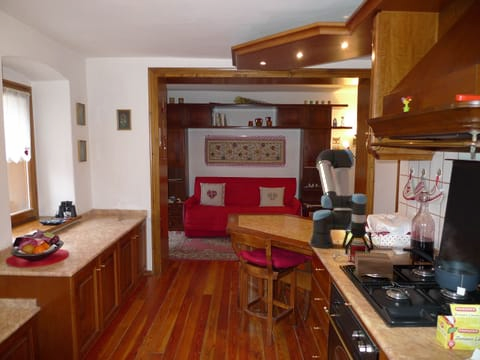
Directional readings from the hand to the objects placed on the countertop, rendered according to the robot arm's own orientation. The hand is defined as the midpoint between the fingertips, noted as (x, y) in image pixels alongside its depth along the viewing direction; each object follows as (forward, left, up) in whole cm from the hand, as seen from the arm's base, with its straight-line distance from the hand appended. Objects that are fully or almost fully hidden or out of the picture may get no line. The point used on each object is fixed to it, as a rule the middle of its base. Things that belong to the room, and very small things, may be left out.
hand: (357, 260), depth 180 cm
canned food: (0, 0, -1) cm, 1 cm away
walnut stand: (+15, +6, -1) cm, 16 cm away
